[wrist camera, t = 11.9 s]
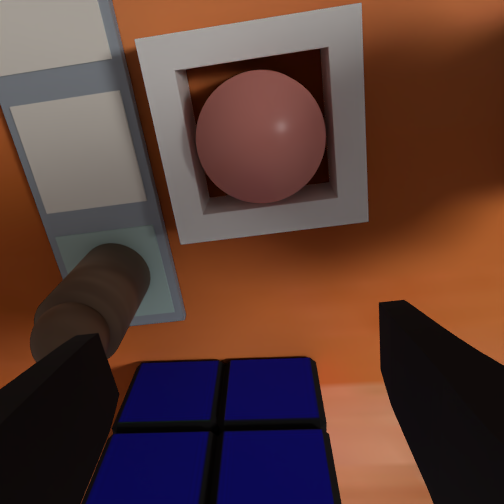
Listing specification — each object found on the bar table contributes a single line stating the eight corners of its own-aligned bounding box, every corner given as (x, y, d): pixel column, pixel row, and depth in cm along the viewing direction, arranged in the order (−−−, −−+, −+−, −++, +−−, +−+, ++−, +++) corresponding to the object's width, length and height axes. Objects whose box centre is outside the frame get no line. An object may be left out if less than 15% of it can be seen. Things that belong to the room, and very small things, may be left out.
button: (311, 60, 17) (320, 60, 15) (320, 176, 19) (330, 194, 17) (196, 78, 18) (183, 81, 15) (216, 190, 20) (208, 210, 17)
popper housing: (348, 10, 17) (361, 2, 15) (356, 203, 20) (368, 221, 18) (151, 42, 18) (134, 39, 15) (189, 224, 21) (180, 244, 18)
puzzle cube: (315, 353, 24) (348, 535, 15) (314, 479, 28) (340, 684, 19) (137, 359, 24) (60, 539, 15) (162, 482, 28) (114, 684, 19)
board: (87, -104, 16) (80, -110, 15) (186, 314, 23) (184, 321, 22) (-57, -77, 16) (-68, -82, 16) (85, 325, 23) (80, 332, 23)
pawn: (141, 239, 20) (87, 316, 14) (157, 301, 22) (114, 396, 16) (73, 247, 21) (-9, 326, 14) (92, 307, 22) (25, 403, 16)
